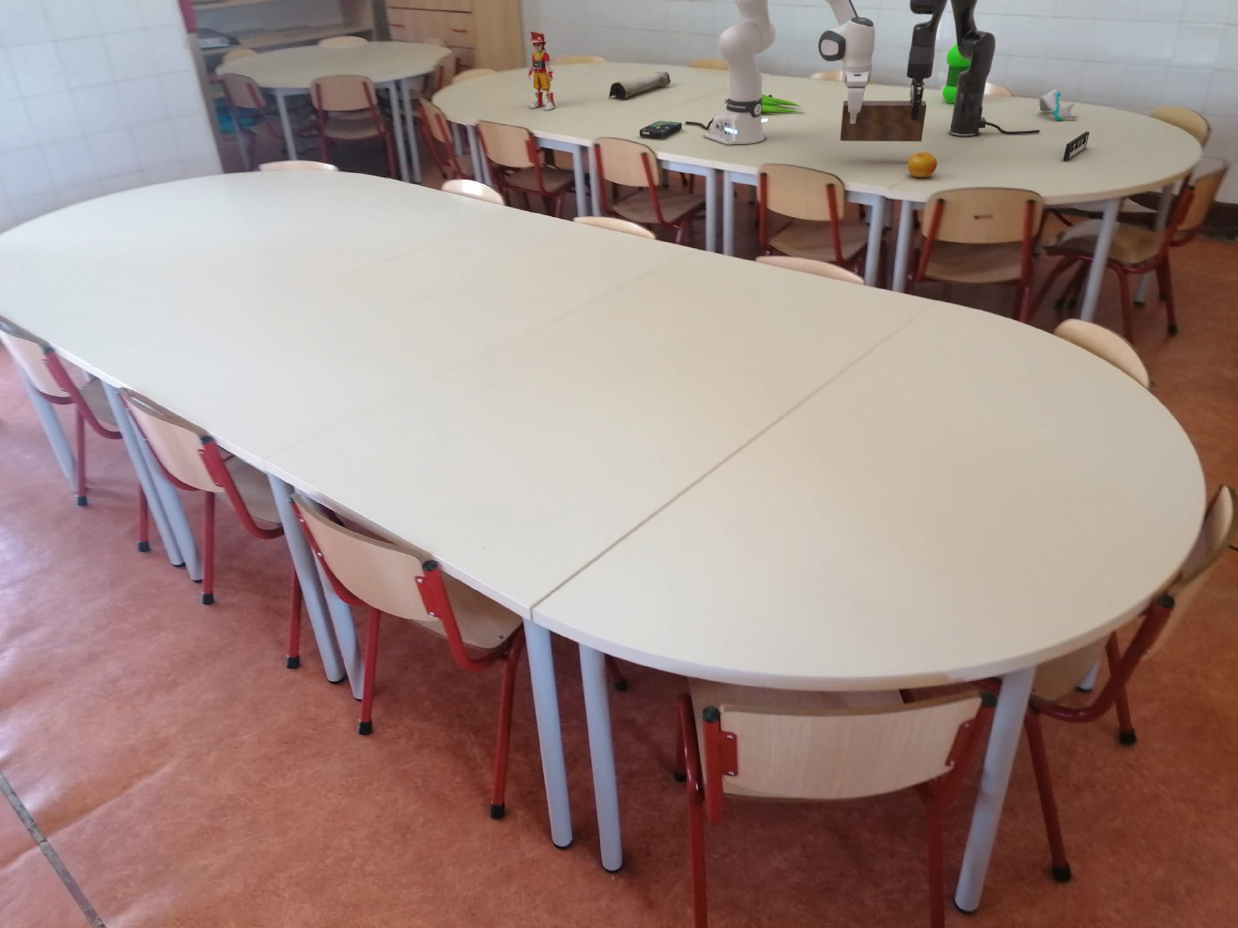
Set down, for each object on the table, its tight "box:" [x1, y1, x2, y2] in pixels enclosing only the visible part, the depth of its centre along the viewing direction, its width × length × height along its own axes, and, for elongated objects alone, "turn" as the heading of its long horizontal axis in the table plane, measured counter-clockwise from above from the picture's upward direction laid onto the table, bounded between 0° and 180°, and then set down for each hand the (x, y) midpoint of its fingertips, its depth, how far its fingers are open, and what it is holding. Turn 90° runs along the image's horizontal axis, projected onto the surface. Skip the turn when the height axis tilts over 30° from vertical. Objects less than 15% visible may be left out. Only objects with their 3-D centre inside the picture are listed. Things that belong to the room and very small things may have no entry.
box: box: [839, 100, 927, 142], centre depth 289 cm, size 26×6×11 cm, turn 78°
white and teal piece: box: [1038, 88, 1078, 121], centre depth 328 cm, size 15×10×10 cm
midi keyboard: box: [1062, 131, 1091, 161], centre depth 291 cm, size 18×1×5 cm, turn 138°
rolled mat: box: [608, 71, 672, 101], centre depth 395 cm, size 30×9×10 cm
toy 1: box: [527, 31, 556, 111], centre depth 374 cm, size 12×9×30 cm
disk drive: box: [639, 120, 683, 140], centre depth 338 cm, size 10×3×15 cm
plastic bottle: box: [942, 43, 971, 104], centre depth 348 cm, size 10×10×25 cm
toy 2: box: [761, 93, 804, 114], centre depth 358 cm, size 28×5×30 cm
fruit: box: [907, 151, 938, 179], centre depth 280 cm, size 8×8×8 cm
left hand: (852, 120), depth 291 cm, fingers closed on box, 6 cm apart
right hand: (913, 116), depth 287 cm, fingers closed on box, 6 cm apart
